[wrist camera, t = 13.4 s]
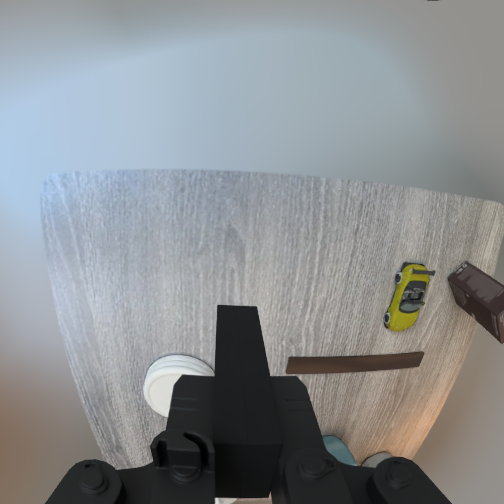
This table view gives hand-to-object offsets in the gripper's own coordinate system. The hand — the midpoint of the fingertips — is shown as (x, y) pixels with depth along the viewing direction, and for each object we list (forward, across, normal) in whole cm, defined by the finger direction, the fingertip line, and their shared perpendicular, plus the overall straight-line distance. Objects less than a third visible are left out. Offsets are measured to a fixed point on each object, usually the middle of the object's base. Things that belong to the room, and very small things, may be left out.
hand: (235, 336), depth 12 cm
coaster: (+24, -5, -23) cm, 34 cm away
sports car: (+24, +24, -9) cm, 35 cm away
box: (+24, +34, -7) cm, 42 cm away
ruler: (+24, +20, -20) cm, 37 cm away
